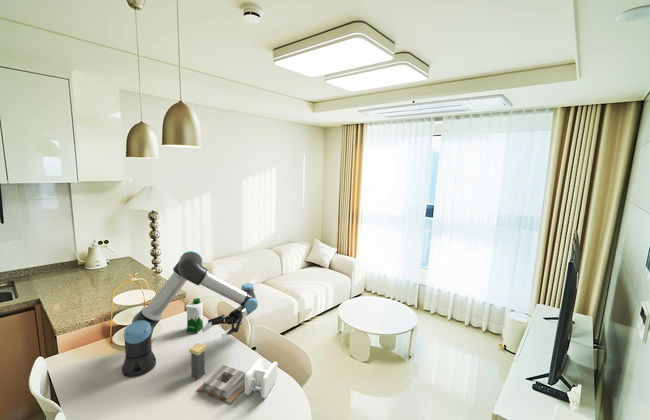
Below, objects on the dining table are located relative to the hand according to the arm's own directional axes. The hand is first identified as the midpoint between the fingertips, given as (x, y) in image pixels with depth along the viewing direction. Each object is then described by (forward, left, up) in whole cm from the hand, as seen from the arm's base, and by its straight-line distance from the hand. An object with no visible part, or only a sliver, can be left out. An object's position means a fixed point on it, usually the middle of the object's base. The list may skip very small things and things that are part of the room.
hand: (212, 333), depth 157 cm
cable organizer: (+34, -4, -19) cm, 39 cm away
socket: (+17, -10, -18) cm, 27 cm away
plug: (0, -10, -18) cm, 21 cm away
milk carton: (-33, +21, -18) cm, 44 cm away
